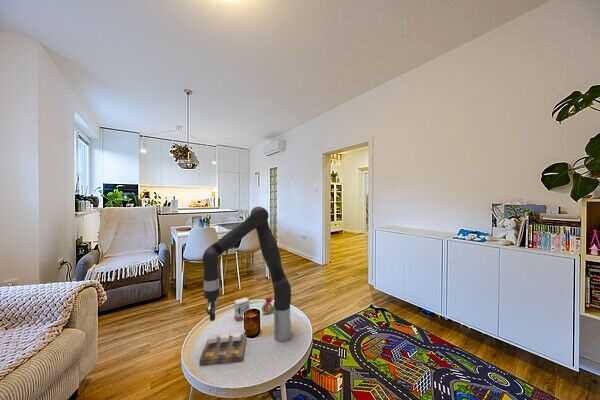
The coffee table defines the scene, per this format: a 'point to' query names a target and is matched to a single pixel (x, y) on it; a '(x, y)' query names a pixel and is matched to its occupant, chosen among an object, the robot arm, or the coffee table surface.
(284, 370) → the coffee table surface
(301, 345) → the coffee table surface
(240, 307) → the ink box
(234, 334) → the key
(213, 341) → the key
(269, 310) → the bird rattle
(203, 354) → the switch board
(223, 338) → the middle key
